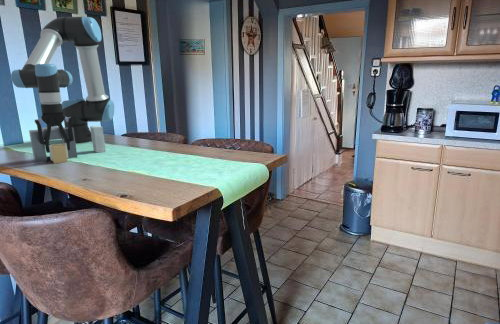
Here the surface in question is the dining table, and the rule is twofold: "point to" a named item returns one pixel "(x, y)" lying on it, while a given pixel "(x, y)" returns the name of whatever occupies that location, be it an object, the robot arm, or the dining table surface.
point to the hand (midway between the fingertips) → (59, 158)
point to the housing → (55, 133)
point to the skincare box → (97, 139)
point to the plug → (59, 153)
